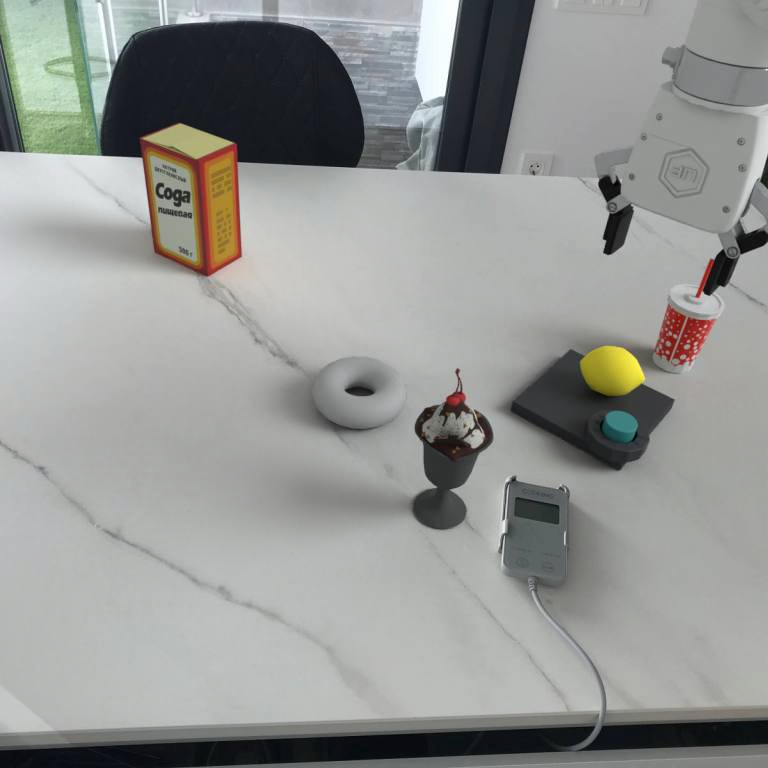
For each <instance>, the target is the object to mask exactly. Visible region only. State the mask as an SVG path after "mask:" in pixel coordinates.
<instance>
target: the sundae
mask: <svg viewBox="0 0 768 768" xmlns="http://www.w3.org/2000/svg"><path fill="white" fill-rule="evenodd" d="M454 373H455V375H456V377H457V387H456V389H455V390H454V392H453V393H452V394H449V395H447V396H446V398H445V401H443V402H442V403H441V404H433V405H431V406H426V407H424V408H423V410H422V411H421V412H420V414H419V415H418V417H417V418H416V420H415V423H414V433H415V435H416V436H417V438H418V439H419V440H420V441H421V442H422V447H423V448H422V450H423V451H422V454H423V456H422V457H423V460H422V461H423V462H422V463H423V470H424V475H425V477H426V479H427V480H428V481H429V482H430V483H431V484H432V485H433V486H435V487H432V488H431V487H430V488H428V489H425V490H423V491H421V492H420V493H419V494H417V496H416V497H415V499H414V501H413V512H414V513H415V516H416V517H417V518H418V520H419V521H420V522H422V523H423V524H424V525H427V526H428V527H431V528H434V529H439V530H447V529H451V528H455V527H457V526H459V525H460V524H461V523H463V521H464V520H465V518H466V516H467V506H466V504H465V501H464V500H463V499H462V497H460V496H459V495H458V494H456V492H454V491H452V490H455V489H458V488H460V487H462V486H464V485H465V484H466V482H467V481H468V479H469V477H470V476H471V474H472V472H473V470H474V467H475V466H476V462H477V459H478V457H479V455H480V454H481V453H483V452H484V451H486V450H487V449H488V448H489V447H491V445H492V444H493V442H494V430H493V427H492V424H491V423H490V421H489V420H488V418H487V417H486V416H485V415H484V414H483V413H481V412H480V411H478V410H476V409H474V408H473V406H471V404H469V403H468V402H467V401H466V399H467V396H466V394H465V393H464V392H463V382H462V380H461V377H460V375H459V374H460V373H461V370H460V368H456V369H455V372H454ZM459 388H460V389H459Z"/></svg>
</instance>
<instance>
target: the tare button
mask: <svg viewBox="0 0 768 768" xmlns="http://www.w3.org/2000/svg"><path fill="white" fill-rule="evenodd" d="M637 427H638V423H637V421H636V419H635V418H634V417H633V416H631V415H630V414H628V413H626V412H622V411H612V412H609V413H608V414H607V415H606V417H605V420H604V423H603V426H602V432H603V434H604V435H605V436H606V437H607V438H609V439H610V440H612V441H614V442H620V443H628V442H630V441H631V440H632V439H633V437H634V435H635V432H636V430H637Z"/></svg>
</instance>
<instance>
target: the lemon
mask: <svg viewBox="0 0 768 768" xmlns="http://www.w3.org/2000/svg"><path fill="white" fill-rule="evenodd" d="M584 356H585V357H584V358H583V359H582V360H581V361H580V367H581V371H582V375H583V377H584V379H585V381H586V382H587V384H588V385H589V387H590V388H591V389H593V390H595V391H597V392H600V393H602V394H604V395H606V396H619V395H626V394H627V393H629V392H630V391H632V390H633V389H635V388H636V387H638V386H639V385H641V384H644V383H645V381H646V376H645V374H644V372H643V370H642V367H641V365H640V363H639V361H638V359H637V358H636V357H635V356H634V355H633V354H632V353H630V352H629V351H628V350H626V349H625V348H624V347H621V346H620V347H619V346H614V345H602V346H599V347H596V348H595V349H592V350H591V351H589V352H588V353H587V354H586V355H584Z"/></svg>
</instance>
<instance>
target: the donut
mask: <svg viewBox="0 0 768 768" xmlns="http://www.w3.org/2000/svg"><path fill="white" fill-rule="evenodd" d="M353 388H363V389H368V390H369V391H372V392H373V393H372V394H370V395H366V396H365V395H363V396H361V395H354V394H350V393H348V392H347V390H348V389H353ZM311 392H312V394H311V396H312V399H313V402H314V404H315V407H316V409H317V410H318V412H320V413H321V415H322V416H324V417H325V418H326V419H327V420H328V421H330V422H332V423H334V424H336V425H338V426H341V427H345V428H349V429H353V430H355V429H356V430H368V429H373V428H378V427H382V426H384V425H386V424H388V423H390V422H392V421H394V419H395V418H396V417H398V416H399V414H401V412H402V411H403V409H404V406H405V405H406V402H407V399H408V396H407V385H406V383H405V381H404V379H403V377H402V376H401V374H400V372H398V371H397V369H395V368H393V367H392V365H390V364H388V363H386V362H384V361H382V360H380V359H378V358H373V357H368V356H347V357H340V358H339V359H336V360H334V361H332V362H329V363H328V364H326V365H325V366H324V367H323V368H321V369H320V370H319V372H318V373H317V375H316V376H315V378H314V380H313V383H312V391H311Z"/></svg>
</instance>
